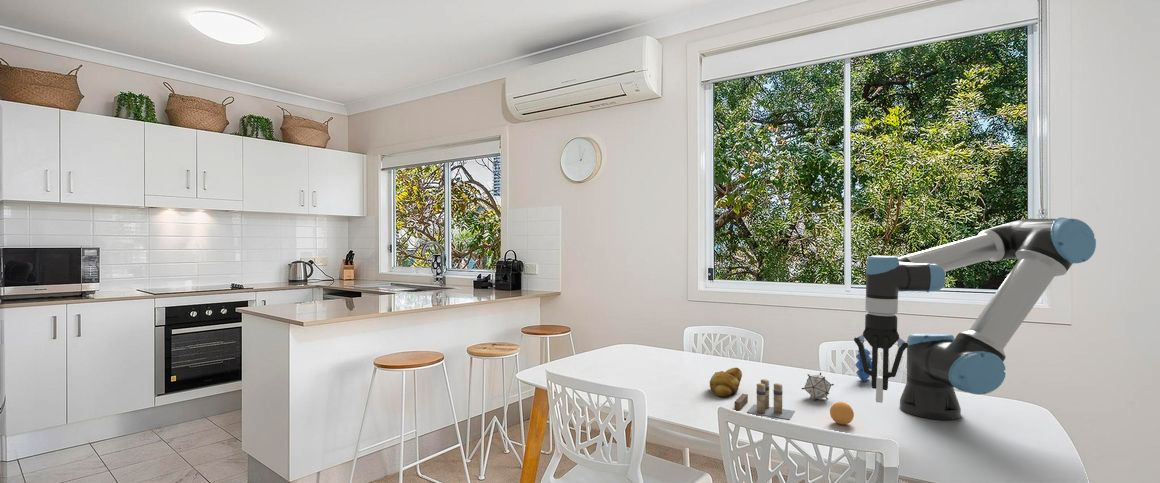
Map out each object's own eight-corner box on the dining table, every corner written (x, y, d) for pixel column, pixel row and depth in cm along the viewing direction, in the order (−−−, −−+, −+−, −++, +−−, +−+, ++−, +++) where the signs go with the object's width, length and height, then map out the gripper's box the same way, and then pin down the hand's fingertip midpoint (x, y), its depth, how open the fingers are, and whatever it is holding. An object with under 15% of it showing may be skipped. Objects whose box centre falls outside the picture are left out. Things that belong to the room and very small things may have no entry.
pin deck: (794, 411, 161) (794, 410, 161) (789, 419, 154) (789, 419, 154) (753, 404, 167) (753, 404, 167) (746, 412, 160) (746, 411, 160)
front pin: (783, 412, 160) (783, 384, 160) (781, 415, 158) (781, 386, 158) (774, 411, 161) (774, 382, 161) (772, 413, 159) (772, 385, 159)
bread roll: (731, 400, 172) (731, 375, 171) (702, 395, 177) (702, 371, 177) (743, 390, 182) (743, 366, 182) (715, 385, 188) (715, 362, 188)
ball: (854, 422, 152) (854, 401, 152) (852, 429, 147) (852, 407, 146) (831, 418, 155) (831, 397, 155) (828, 425, 150) (828, 403, 150)
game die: (823, 412, 171) (838, 392, 165) (797, 401, 173) (811, 381, 167) (823, 391, 178) (838, 372, 172) (798, 381, 180) (811, 361, 174)
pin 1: (766, 412, 160) (766, 384, 160) (764, 415, 158) (764, 386, 158) (757, 411, 161) (757, 383, 161) (755, 413, 159) (755, 385, 159)
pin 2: (770, 407, 164) (770, 380, 164) (768, 410, 162) (768, 382, 162) (761, 406, 166) (761, 378, 165) (759, 408, 164) (759, 380, 163)
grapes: (872, 386, 185) (873, 351, 184) (851, 383, 189) (851, 349, 189) (881, 379, 193) (881, 346, 193) (860, 376, 198) (860, 343, 198)
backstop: (747, 402, 170) (747, 394, 170) (739, 410, 162) (739, 402, 162) (742, 401, 170) (742, 393, 170) (734, 409, 163) (734, 401, 163)
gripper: (909, 313, 145) (907, 401, 145) (855, 309, 151) (853, 393, 152) (909, 317, 138) (907, 409, 139) (852, 313, 145) (850, 400, 146)
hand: (879, 401), depth 145 cm, fingers closed
